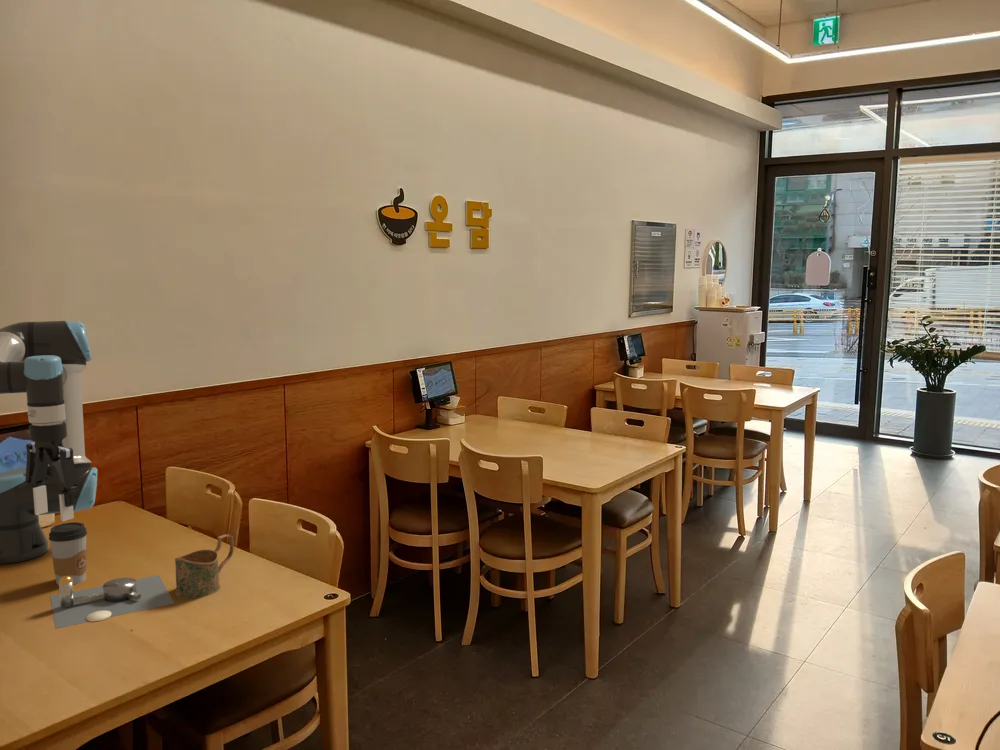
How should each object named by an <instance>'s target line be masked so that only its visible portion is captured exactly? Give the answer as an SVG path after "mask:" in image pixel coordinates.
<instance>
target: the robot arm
mask: <svg viewBox="0 0 1000 750" xmlns="http://www.w3.org/2000/svg"><path fill="white" fill-rule="evenodd" d="M92 360H93V359H92V352H91V347H90V342H89V337H88V333H87V329H86V326H85V324H84V323H83V322H81V321H76V320H75V321H73V320H51V321H50V320H49V321H20V322H15V323H12V324H9V325H6V326H4V327H2V328H0V394H1V395H5V394H21V393H23V394H24V393H26V401H27V402H26V405H27V412H26V414H27V417H28V422H29V423H30V424H29V425H28V433H29V436H28V437H29V440H30V441H32V442H31V443H27V444H26V445H25V448H26V465H25V466H26V467H20V468H14V469H9V470H5V471H2V472H0V563H1V564H13V563H19V562H25V561H29V560H33V559H36V558H38V557H41V556H43V555H45V554H46V553H47V552H48V550H49V542H48V538H47V537H46V534H45V533H44V531H43V529H42V527H41V525H40V520H39V519H40V518H39V516H44V515H52V514H53V515H54V514H60V521H61V522H66V521H68V520H69V521H70V520H72V519H74V518H75V515H74V513H76V512H79V511H84V510H85V511H86V510H90V509H91V508H92V507H93V506H94V505H95V501H96V495H97V487H98V468H97V467H94V466H92V461H91V460H90V459H89V458H88V457H86V449H85V429H84V427H85V426H84V412H83V411H84V409H83V393H82V390H83V389H82V372H83V371H85V369H87V362H90V361H92ZM1 564H0V565H1Z"/></svg>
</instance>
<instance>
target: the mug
mask: <svg viewBox="0 0 1000 750" xmlns="http://www.w3.org/2000/svg"><path fill="white" fill-rule="evenodd" d="M227 537H228V538H229V552H228V554H227V557H226V558H224V560H223V561H221V563H220V564H219V561H218V560H219V555H218V553H219V551H220V550H221V547H222V539H224V538H227ZM234 549H235V541H234V536H233V535H231V534H222V535H219V536H217V544H216V547H215V549H214V550H212V549H199V550H195V551H192V552H190V553H187V554H184V555H180V556H176V557H174V563H175V585H176V590H175V592H174V593H175V595H176V597H179V598H182V599H199V598H205V597H208V596H210V595H213V594H216V593H218V592H219V591H220V589H221V587H222V586H221V584H220V577H219V576H220V575H219V574H220V572H221V570H222V569H223V568H224V566H225V565H226V564H227V563H228V562H229V561H230V559H231V558H232V557H233V554H234Z"/></svg>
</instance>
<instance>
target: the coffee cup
mask: <svg viewBox="0 0 1000 750" xmlns="http://www.w3.org/2000/svg"><path fill="white" fill-rule="evenodd" d="M87 535H88V531H87V528H86V527H85V524H84V523H82V522H65V523H60V524H56V525H54V526H52V527H51V528H50V532H49V533H48V536H49V538H48V540H49V543H50V549H51V550H50V551H51V559H52V564H53V566H52V567H53V571H54V575H55V582H56V585H58V586H59V580H60V578H61V577H63V576H70V577H71V578H72V579H73V586H74V585H78V584H80V583H83V582H84V581H86V580H87V552H88V551H87Z"/></svg>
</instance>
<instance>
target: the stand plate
mask: <svg viewBox="0 0 1000 750" xmlns="http://www.w3.org/2000/svg"><path fill="white" fill-rule="evenodd" d="M135 580H136V591H137V593H138V594H141V598H140V599H138V600H134V599H131V598H130V599H127V600H123V601H117V602H110V601H106V600H104V598H103V599H98V600H93V601H88V602H83V603H78V604H73V605H72V606H68V607H61V606H60V593H59V594H53V595H50V596H49V597H50V602H51V608H52V613H53V619H54V627H55V629H61V628H65V627H70V626H75V625H79V624H86V623H88V622H94V623H95V622H101V621H104V620H107V619H109V618H114V617H117V616H122V615H126V614H131V613H136V612H140V611H141V612H142V611H145V610H151V609H154V608H160V607H165V606H169V605H173V604H175V602H174V600H173V598H172V597H171V595H170V593H169V590H167V587H166V586H165V584H164V582H163V580H162V578H161V576H160V574H157V575H153V576H147V577H141V578H137V579H135ZM73 591H74V598H75V597H80V596H86V595H91V594H96V593H101V592H103V585H101V586H95V587H89V588H84V589H78V590H73Z"/></svg>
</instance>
